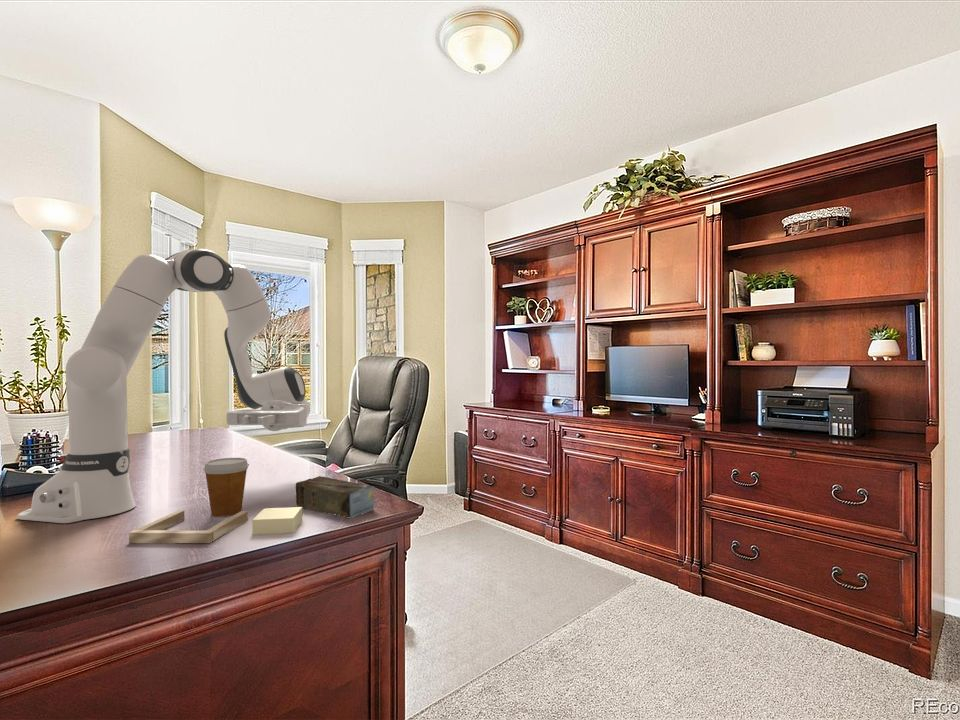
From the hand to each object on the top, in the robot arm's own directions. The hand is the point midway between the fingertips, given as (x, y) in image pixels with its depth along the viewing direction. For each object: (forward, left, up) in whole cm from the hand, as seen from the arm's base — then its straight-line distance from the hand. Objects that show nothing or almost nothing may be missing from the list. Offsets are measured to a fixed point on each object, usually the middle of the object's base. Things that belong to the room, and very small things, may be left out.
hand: (252, 420), depth 129 cm
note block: (+17, -22, -20) cm, 34 cm away
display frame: (0, -24, -20) cm, 31 cm away
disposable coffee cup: (0, -12, -20) cm, 24 cm away
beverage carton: (+24, -8, -20) cm, 33 cm away
